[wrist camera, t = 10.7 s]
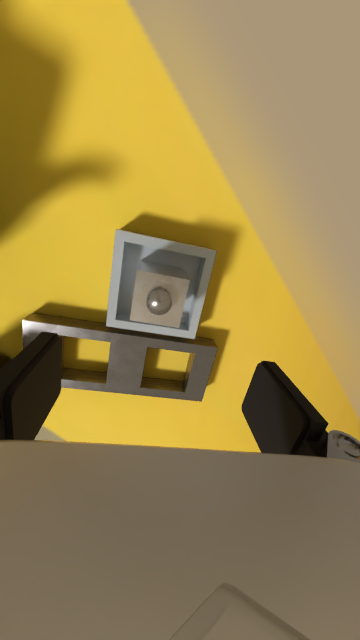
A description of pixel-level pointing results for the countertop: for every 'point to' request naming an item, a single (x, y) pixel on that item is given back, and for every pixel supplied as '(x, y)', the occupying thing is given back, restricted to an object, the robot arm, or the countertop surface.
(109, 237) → the countertop surface
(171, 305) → the beige block with knob
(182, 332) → the parts tray
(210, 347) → the rail
